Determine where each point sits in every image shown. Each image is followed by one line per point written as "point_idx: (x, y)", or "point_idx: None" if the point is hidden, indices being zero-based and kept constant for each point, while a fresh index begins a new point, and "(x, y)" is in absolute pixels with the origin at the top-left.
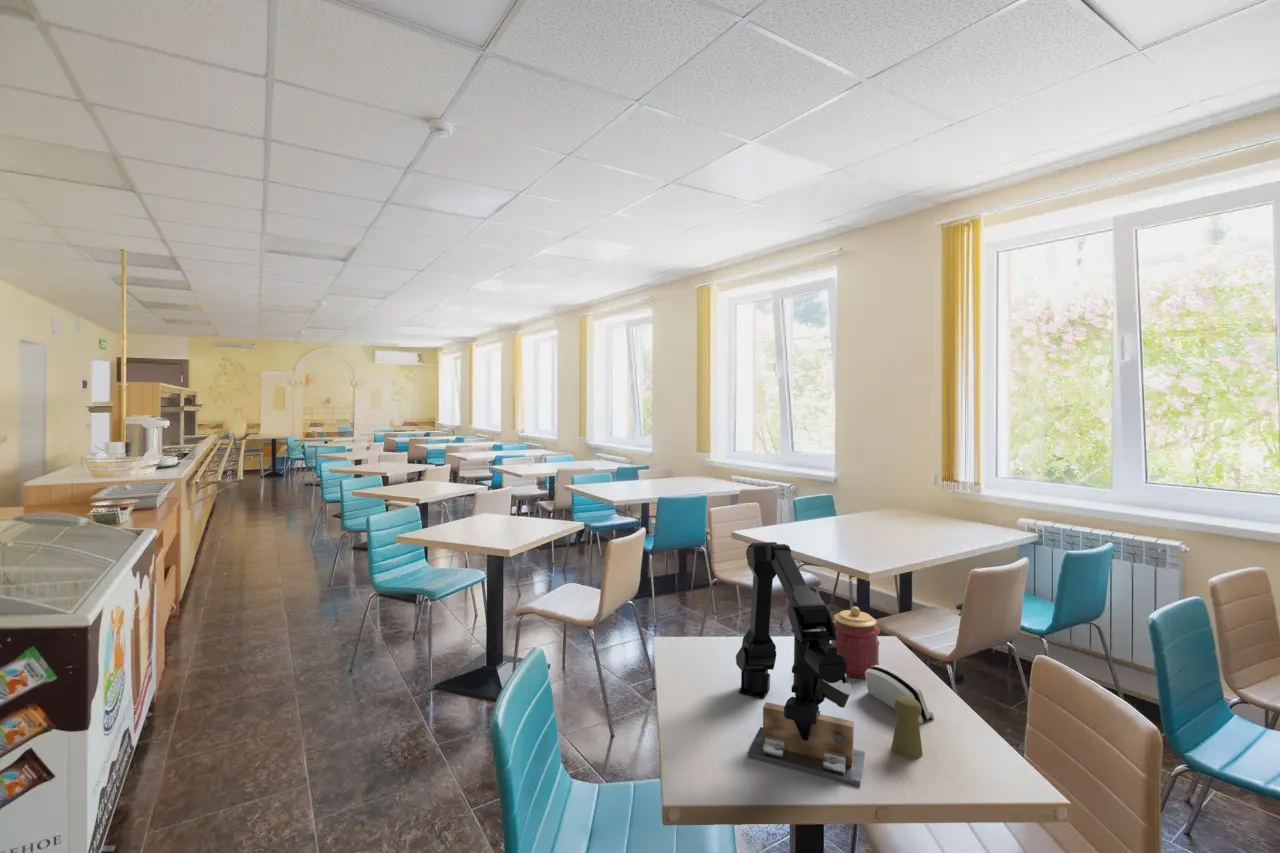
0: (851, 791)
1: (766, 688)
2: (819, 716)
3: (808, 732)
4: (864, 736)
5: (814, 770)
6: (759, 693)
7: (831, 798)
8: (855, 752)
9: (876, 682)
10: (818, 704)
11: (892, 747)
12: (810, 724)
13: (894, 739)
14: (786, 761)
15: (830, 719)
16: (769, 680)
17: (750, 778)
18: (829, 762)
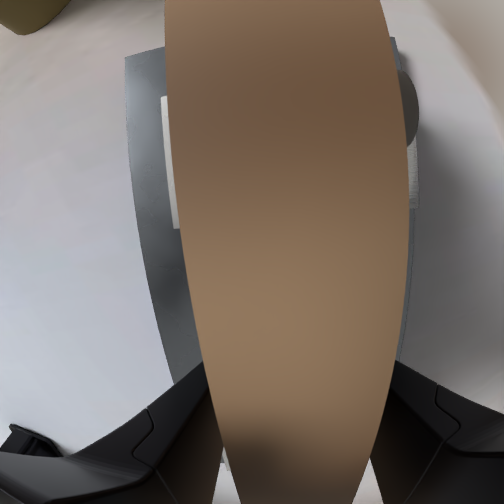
0: (433, 78)
1: (27, 444)
2: (294, 405)
3: (407, 370)
4: (10, 126)
5: (412, 238)
6: (46, 449)
7: (496, 150)
8: (150, 87)
9: None
10: (122, 495)
11: (45, 19)
12: (472, 403)
13: (29, 2)
14: (396, 354)
15: (316, 242)
16: (7, 445)
17: (466, 391)
18: (414, 173)
